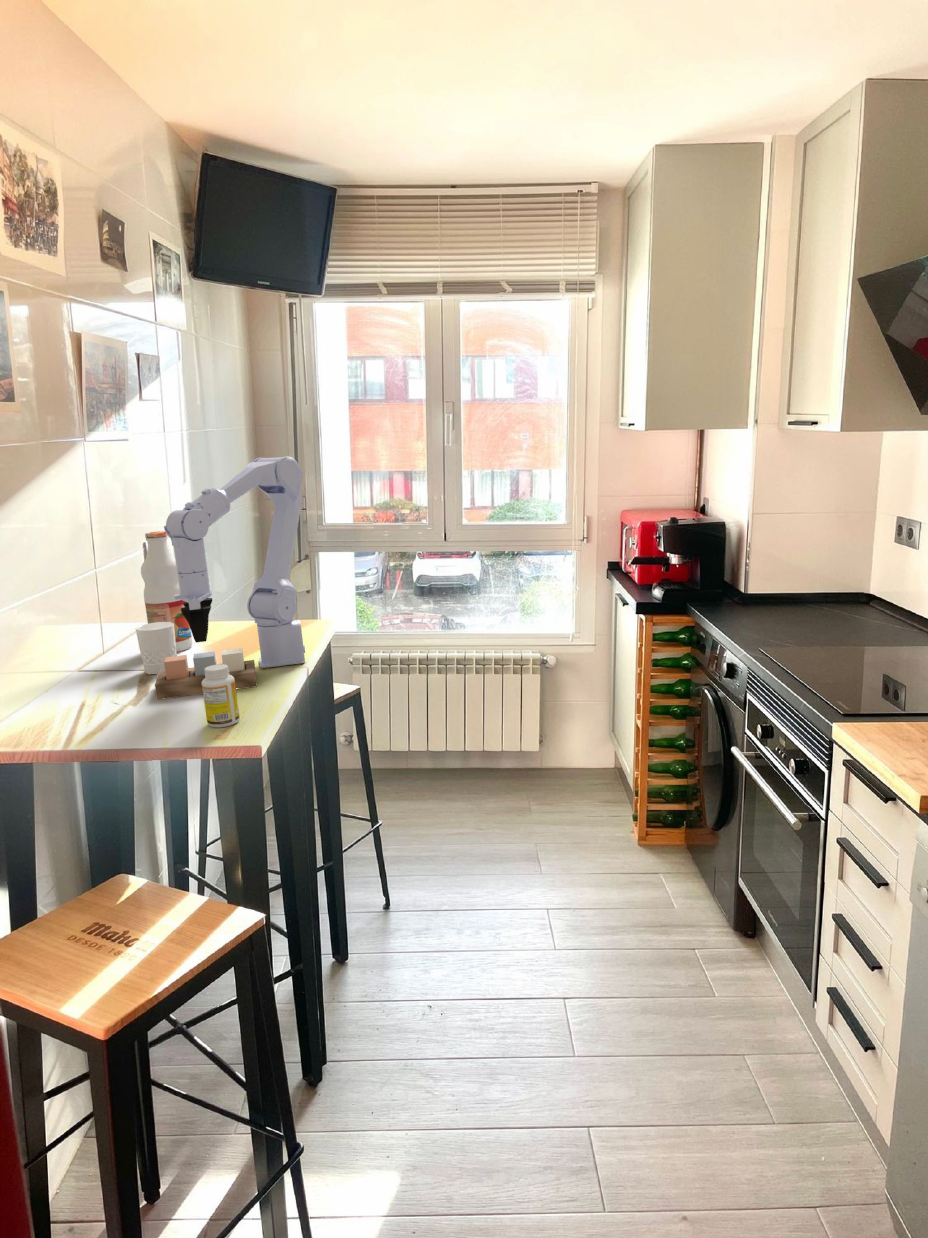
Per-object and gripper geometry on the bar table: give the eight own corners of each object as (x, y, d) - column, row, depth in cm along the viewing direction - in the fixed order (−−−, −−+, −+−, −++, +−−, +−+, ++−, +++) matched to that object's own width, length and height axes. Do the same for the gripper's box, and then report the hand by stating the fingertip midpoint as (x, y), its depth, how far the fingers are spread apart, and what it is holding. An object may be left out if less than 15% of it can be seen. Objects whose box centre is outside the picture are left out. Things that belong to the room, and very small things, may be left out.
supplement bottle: (227, 716, 164) (220, 661, 162) (246, 721, 160) (239, 665, 158) (200, 725, 160) (193, 669, 158) (219, 730, 156) (211, 673, 154)
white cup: (168, 675, 194) (162, 630, 192) (135, 676, 196) (128, 630, 194) (186, 665, 202) (180, 621, 200) (154, 665, 204) (147, 622, 201)
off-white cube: (244, 666, 187) (242, 648, 186) (244, 671, 183) (242, 652, 182) (224, 669, 186) (222, 650, 185) (224, 674, 182) (221, 655, 182)
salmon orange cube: (189, 673, 185) (186, 654, 184) (188, 679, 181) (185, 659, 180) (168, 676, 184) (165, 657, 183) (167, 681, 180) (164, 662, 179)
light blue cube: (217, 670, 186) (214, 651, 185) (216, 675, 182) (213, 656, 181) (196, 673, 185) (194, 653, 184) (195, 678, 181) (193, 658, 180)
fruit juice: (153, 646, 222) (136, 532, 216) (194, 642, 224) (178, 528, 218) (150, 656, 213) (132, 536, 207) (191, 651, 215) (175, 532, 209)
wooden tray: (255, 673, 191) (254, 659, 190) (256, 686, 181) (254, 671, 181) (161, 685, 187) (159, 671, 186) (156, 699, 177) (154, 684, 177)
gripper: (173, 568, 185) (183, 633, 188) (168, 579, 171) (178, 649, 174) (209, 564, 187) (218, 629, 190) (207, 575, 173) (216, 644, 176)
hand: (201, 638), depth 182 cm, fingers open, 5 cm apart
